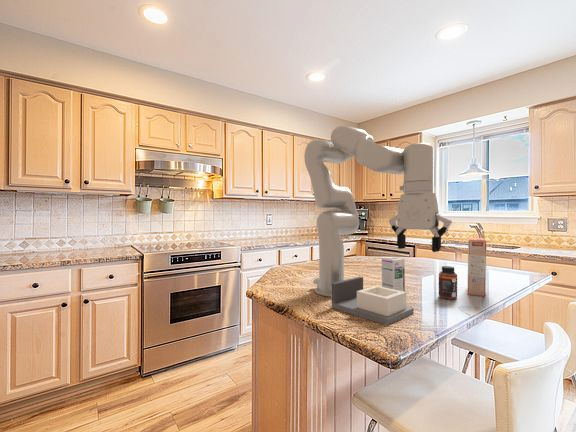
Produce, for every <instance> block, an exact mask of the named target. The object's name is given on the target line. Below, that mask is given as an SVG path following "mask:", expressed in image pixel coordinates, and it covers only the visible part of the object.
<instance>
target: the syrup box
mask: <svg viewBox="0 0 576 432" xmlns="http://www.w3.org/2000/svg"><path fill="white" fill-rule="evenodd" d="M405 266H406V265H405V258H402V257H397V256H395V257H394V256H391V257H384V258H383V257H382V258H381V287H384V288H389V289H394V290H398V291H403V292H406V285H405V284H406V280H405V278H406V277H405V271H406V270H405Z"/></svg>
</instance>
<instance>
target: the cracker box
mask: <svg viewBox="0 0 576 432" xmlns="http://www.w3.org/2000/svg"><path fill="white" fill-rule="evenodd" d="M467 247H468V249H467V295H469V296H477V297H486V284H487V283H486V282H487V281H486V280H487V278H486V277H487V276H486V275H487V272H486V271H487V240H486V238H484V237H468V246H467Z"/></svg>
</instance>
